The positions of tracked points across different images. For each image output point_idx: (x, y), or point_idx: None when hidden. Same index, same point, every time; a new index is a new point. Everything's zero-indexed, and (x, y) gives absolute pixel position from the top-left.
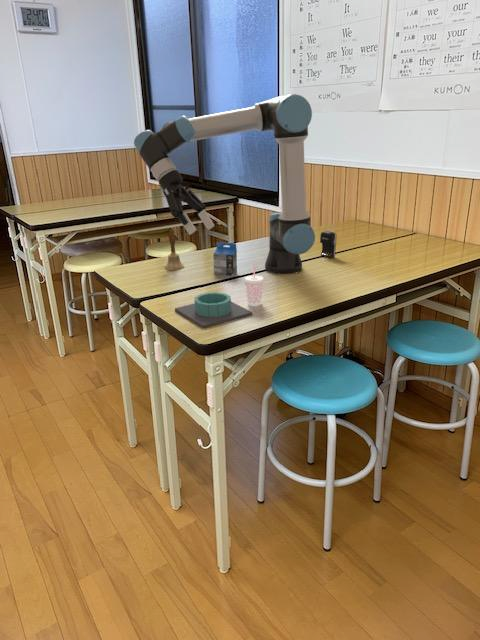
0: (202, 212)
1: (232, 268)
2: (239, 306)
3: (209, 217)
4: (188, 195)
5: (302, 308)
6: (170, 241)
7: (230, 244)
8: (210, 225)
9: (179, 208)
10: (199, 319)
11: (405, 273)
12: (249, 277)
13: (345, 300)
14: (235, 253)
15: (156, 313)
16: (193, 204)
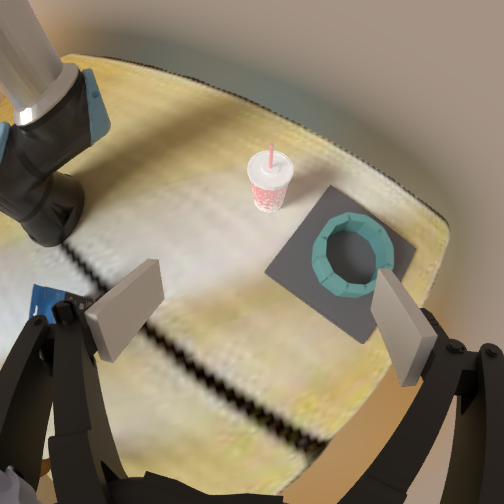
0: (106, 325)
1: (86, 300)
2: (311, 214)
3: (120, 281)
4: (98, 465)
5: (267, 125)
6: (48, 470)
7: (33, 302)
8: (154, 280)
9: (457, 378)
10: (398, 266)
11: (100, 72)
12: (266, 180)
13: (214, 89)
14: (55, 289)
15: (381, 373)
16: (95, 397)
